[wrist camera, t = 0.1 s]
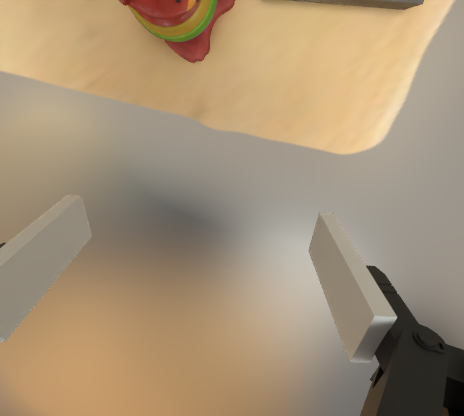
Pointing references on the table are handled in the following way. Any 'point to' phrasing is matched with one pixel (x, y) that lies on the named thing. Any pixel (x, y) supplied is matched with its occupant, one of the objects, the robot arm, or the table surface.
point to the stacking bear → (181, 22)
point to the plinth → (373, 3)
